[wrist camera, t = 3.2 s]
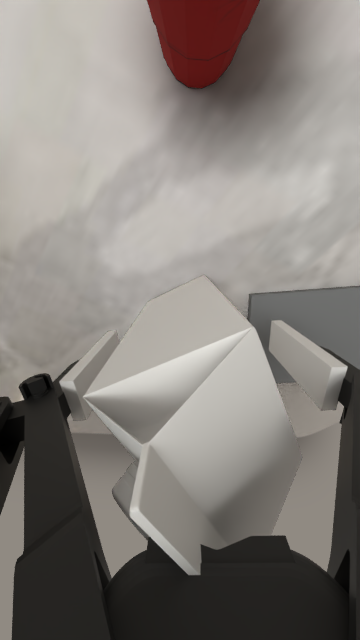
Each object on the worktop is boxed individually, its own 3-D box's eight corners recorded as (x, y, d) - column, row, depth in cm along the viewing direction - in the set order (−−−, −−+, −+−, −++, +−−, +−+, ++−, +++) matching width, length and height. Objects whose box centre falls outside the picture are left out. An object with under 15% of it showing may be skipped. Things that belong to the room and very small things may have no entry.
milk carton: (204, 273, 20) (373, 445, 2) (227, 327, 22) (404, 629, 5) (147, 300, 21) (-30, 555, 3) (174, 349, 23) (151, 659, 6)
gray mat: (244, 380, 25) (246, 384, 24) (249, 293, 21) (251, 295, 20) (366, 374, 24) (372, 377, 24) (396, 283, 20) (404, 284, 19)
